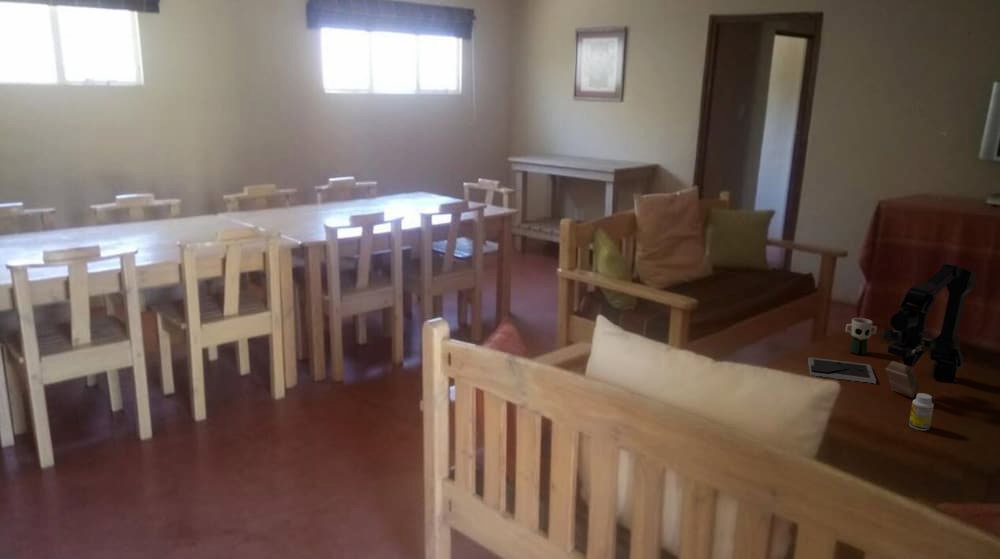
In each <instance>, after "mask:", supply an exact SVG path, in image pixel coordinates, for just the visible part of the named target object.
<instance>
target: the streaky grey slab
mask: <svg viewBox="0 0 1000 559" xmlns="http://www.w3.org/2000/svg"><path fill="white" fill-rule="evenodd" d="M885 372H886V375H887V379H888V381H889V385H890V389H891V392H894V391H895V392H894V393H897V392H898V393H897V394H900V395H902V394H903V396H906V397H908V398H911V399H913V398H914V397H915V396H916V395H917V394H918V393H919V391H920V388H919V385H918V384H919V383H918V381H917V380H918V379H917V377H916V372H915V369H914V366H913V367H910V366H907V365H904V363H900V362H897V361H893V360H892V361H891V362H890V363H889V364H888V365H887V367H886V368H885Z"/></svg>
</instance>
